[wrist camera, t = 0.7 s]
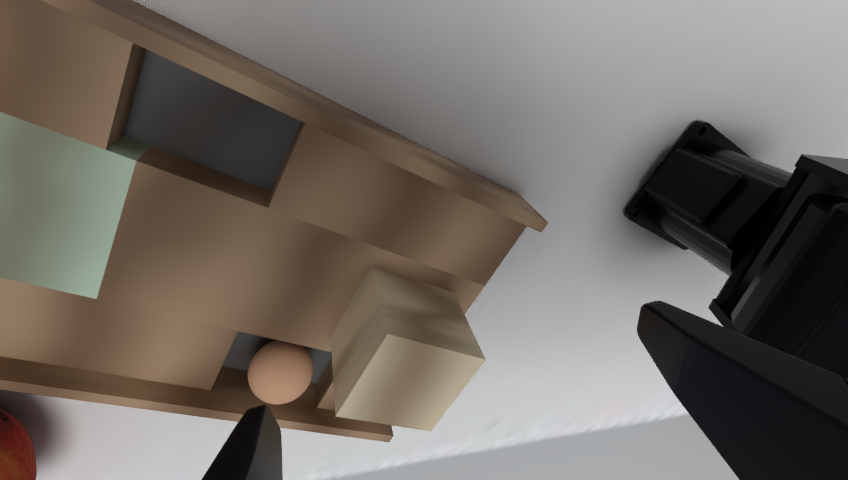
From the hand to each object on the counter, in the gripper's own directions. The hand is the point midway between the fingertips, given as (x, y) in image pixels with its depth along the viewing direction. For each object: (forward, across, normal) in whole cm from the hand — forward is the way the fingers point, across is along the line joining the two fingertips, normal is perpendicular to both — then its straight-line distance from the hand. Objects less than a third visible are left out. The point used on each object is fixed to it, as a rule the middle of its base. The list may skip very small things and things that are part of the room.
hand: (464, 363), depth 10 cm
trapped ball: (+12, +8, +10) cm, 18 cm away
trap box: (+13, +7, +3) cm, 15 cm away
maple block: (+11, +2, +8) cm, 13 cm away
